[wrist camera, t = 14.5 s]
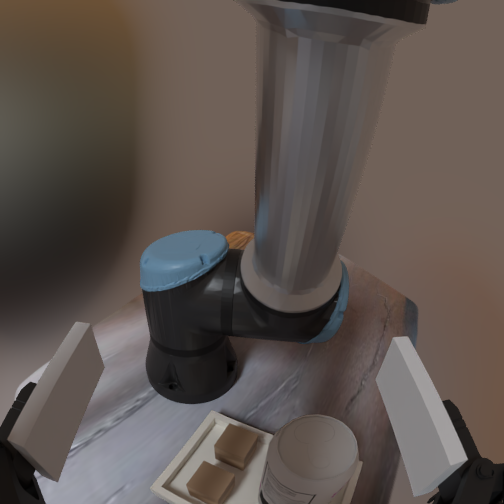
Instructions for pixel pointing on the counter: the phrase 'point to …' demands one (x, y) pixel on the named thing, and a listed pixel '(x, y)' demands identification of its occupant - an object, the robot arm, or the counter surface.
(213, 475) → the walnut block
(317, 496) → the supplement can
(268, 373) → the counter surface
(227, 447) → the walnut block
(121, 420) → the counter surface
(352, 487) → the tray
